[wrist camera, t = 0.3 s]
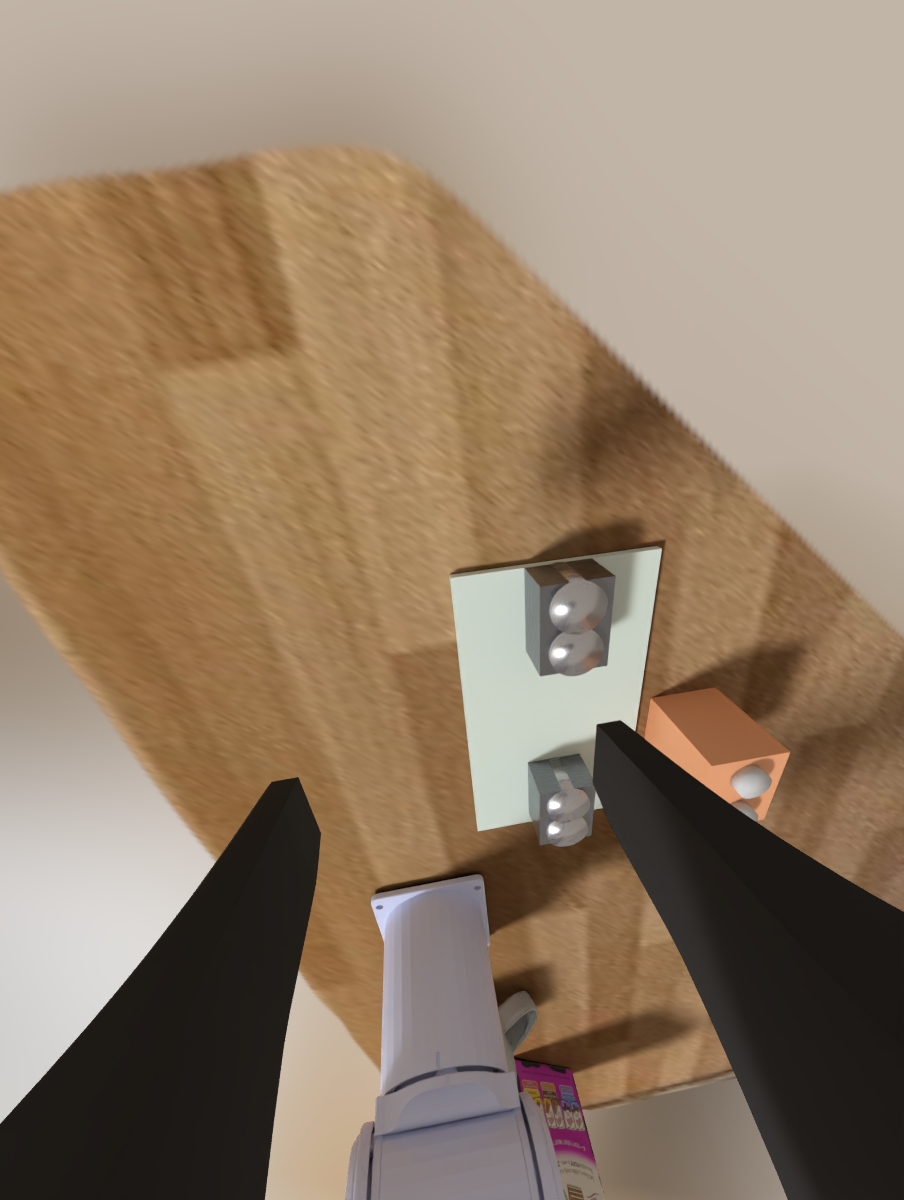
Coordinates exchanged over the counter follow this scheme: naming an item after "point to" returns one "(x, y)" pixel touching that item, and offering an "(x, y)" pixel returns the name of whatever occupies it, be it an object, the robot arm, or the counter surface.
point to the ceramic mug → (516, 1023)
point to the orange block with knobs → (718, 747)
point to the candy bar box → (563, 1126)
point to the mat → (542, 680)
